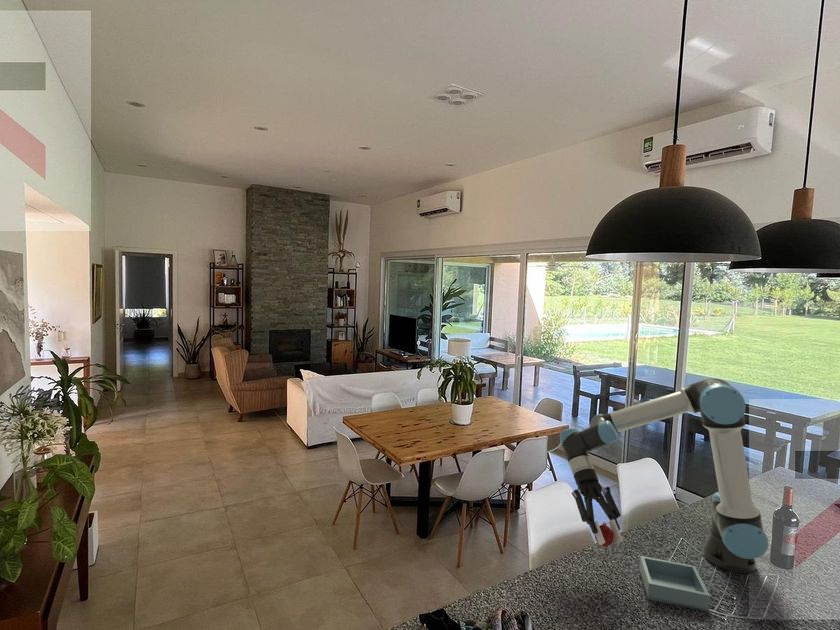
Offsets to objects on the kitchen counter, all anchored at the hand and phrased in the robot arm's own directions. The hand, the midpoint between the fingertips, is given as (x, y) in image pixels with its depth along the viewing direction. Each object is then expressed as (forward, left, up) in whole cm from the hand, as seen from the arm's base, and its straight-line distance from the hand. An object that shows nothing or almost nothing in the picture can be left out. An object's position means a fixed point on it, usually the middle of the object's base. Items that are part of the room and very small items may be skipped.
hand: (611, 542), depth 142 cm
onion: (+2, -3, -4) cm, 5 cm away
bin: (-18, -2, -12) cm, 22 cm away
